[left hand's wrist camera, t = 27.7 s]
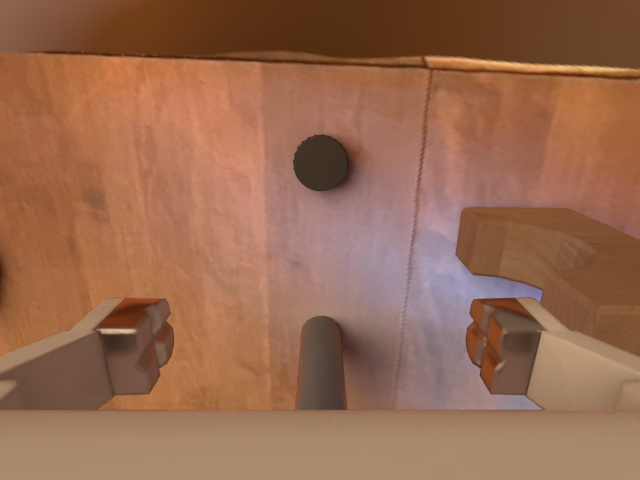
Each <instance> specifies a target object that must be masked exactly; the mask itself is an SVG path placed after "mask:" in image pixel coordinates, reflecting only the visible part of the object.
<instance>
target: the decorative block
mask: <svg viewBox="0 0 640 480" xmlns="http://www.w3.org/2000/svg"><path fill="white" fill-rule="evenodd" d="M456 256H457V257H458V258H459V259H460V261H461V262H462V263H463V264H464V265H465V266H466V268H467V269H468V270H469V271H470V272H471V273H472V274H473V275H480V276H491V277H500V278H504V279H508V280H512V281H516V282H520V283H524V284H527V285H529V286H532V287H535V288H537V289H540V290H543V293H542V297H541V302H540V304H541V305H543V306H544V307H545V308H546V309H547V310H548V311H549V312H550V313H551V314H552V315H554V316H555V317H556V318H557V319H558V320H559V321H560V322H561V323H562V324H563V325H564V326H566V327H567V328H568V329H569V330H570V331H578V332H581V333H583V334H586V335H588V336H591V337H593V338H596V339H598V340H600V341H603V342H605V343H608V344H610V345H613V346H615V347H618V348H620V349H623V350H625V351H628V352H630V353H632V354H635V355H637V356H640V240H638V239H636V238H634V237H632V236H629V235H627V234H625V233H623V232H620V231H618V230H616V229H613V228H611V227H609V226H607V225H604V224H602V223H600V222H598V221H595V220H593V219H591V218H588V217H586V216H584V215H581V214H579V213H577V212H575V211H572V210H570V209H568V208H465V209H464V210H463V211H462V213H461V220H460V227H459V234H458V241H457V248H456Z"/></svg>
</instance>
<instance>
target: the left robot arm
mask: <svg viewBox="0 0 640 480" xmlns="http://www.w3.org/2000/svg"><path fill="white" fill-rule="evenodd" d="M170 314H171V313H170V308H169V303H168V302H167V300H166V299H156V298H106V299H104V300H103V301H102V302H101V303H100V304H99V305H98V306H96V307H95V308H94V309H93V310H92V311H91V312H90V313H89V314H88V315H87V316H85V317H84V318H83V319H82V320H81V321H80V322H79V323H78V324H77V325H76V326H75V327H73V328H72V329H71V330H70V331H62V332H59V333H57V334H54V335H52V336H49V337H47V338H44V339H42V340H39V341H37V342H35V343H32V344H30V345H27V346H25V347H22V348H20V349H17V350H15V351H12V352H10V353H7V354H5V355H2V356H0V480H640V356H637V355H635V354H632V353H630V352H628V351H625V350H623V349H620V348H618V347H615V346H613V345H610V344H608V343H605V342H603V341H600V340H598V339H596V338H593V337H591V336H588V335H586V334H583V333H581V332H578V331H570V330H569V329H568V328H567V327H566V326H564V325H563V324H562V323H561V322H560V321H559V320H558V319H557V318H556V317H555V316H554V315H552V314H551V313H550V312H549V311H548V310H547V309H546V308H545V307H544V306H543V305H541V304H540V303H539V302H538V301H537V300H536V299H534V298H491V299H474V300H473V302H472V304H471V307H470V313H469V314H470V315H471V317H472V318H473V320H474V321H473V322H472V323H471V325H470V326H469V327H468V328H467V333H466V347H467V352H468V355H469V357H470V359H471V361H472V363H473V364H475V365H476V366H478V367H479V368H481V371H480V377H481V378H482V380H483V382H484V383H485V385H486V387H487V389H488V390H489V392H490V394H499V395H526V397H527V398H528V399H530V400H531V401H532V402H534V403H535V404H536V405H538V406H539V407H540V408H542V409H543V410H97V409H98V408H100V407H101V406H102V405H104V404H105V403H106V402H108V401H109V400H110V399H112V398H113V397H114V395H140V394H150V392H151V390H152V389H153V387H154V385H155V383H156V382H157V380H158V378H159V377H160V371H159V368H161V367H162V366H164V365H165V364H167V363H168V361H169V359H170V357H171V355H172V351H173V347H174V332H173V328H172V327H171V326H170V325H169V323H168V322H167V321H166V320H167V318H168V317H169V315H170Z"/></svg>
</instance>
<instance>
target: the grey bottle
mask: <svg viewBox="0 0 640 480" xmlns="http://www.w3.org/2000/svg"><path fill="white" fill-rule="evenodd" d="M295 410H347V399H346V388H345V376H344V365H343V353H342V342H341V331H340V327H339V325H338V324H337V323H336V322H335V321H334V320H333V319H331V318H328V317H325V316H317V317H313V318H311V319H309V320H308V321H307V322H306V323H305V324H304V325H303V327H302V330H301V341H300V353H299V366H298V378H297V390H296V402H295Z"/></svg>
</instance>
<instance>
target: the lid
mask: <svg viewBox="0 0 640 480" xmlns="http://www.w3.org/2000/svg"><path fill="white" fill-rule="evenodd" d="M345 152H346V151H345V149H343V148H342V145H341V144H339V143H338V142H337V140H336V139H333V138H331V137H330V136H325V135H323V134H322V135H315V136H312V137H310V138H309V137H308V139H306V140H305V141H302V144H301V145H300V146H298V148H297V151H296V153H295V154H294V155H295V157H294V160H293V162H294V171H295V174H296V176H297V178H298V179H299V181H300V182H301V183H302V184H303V185H304V186H306V187H308V188H310V189H312V190H316V191H325V190H329V189H331V188H333V187H335V186H336V185H338V184H339V183H340V182H341V181H342V179H343V178H344V176H345V174H346V171H347V166H348V164H347V159H348V158H347V156H346V154H345Z"/></svg>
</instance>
